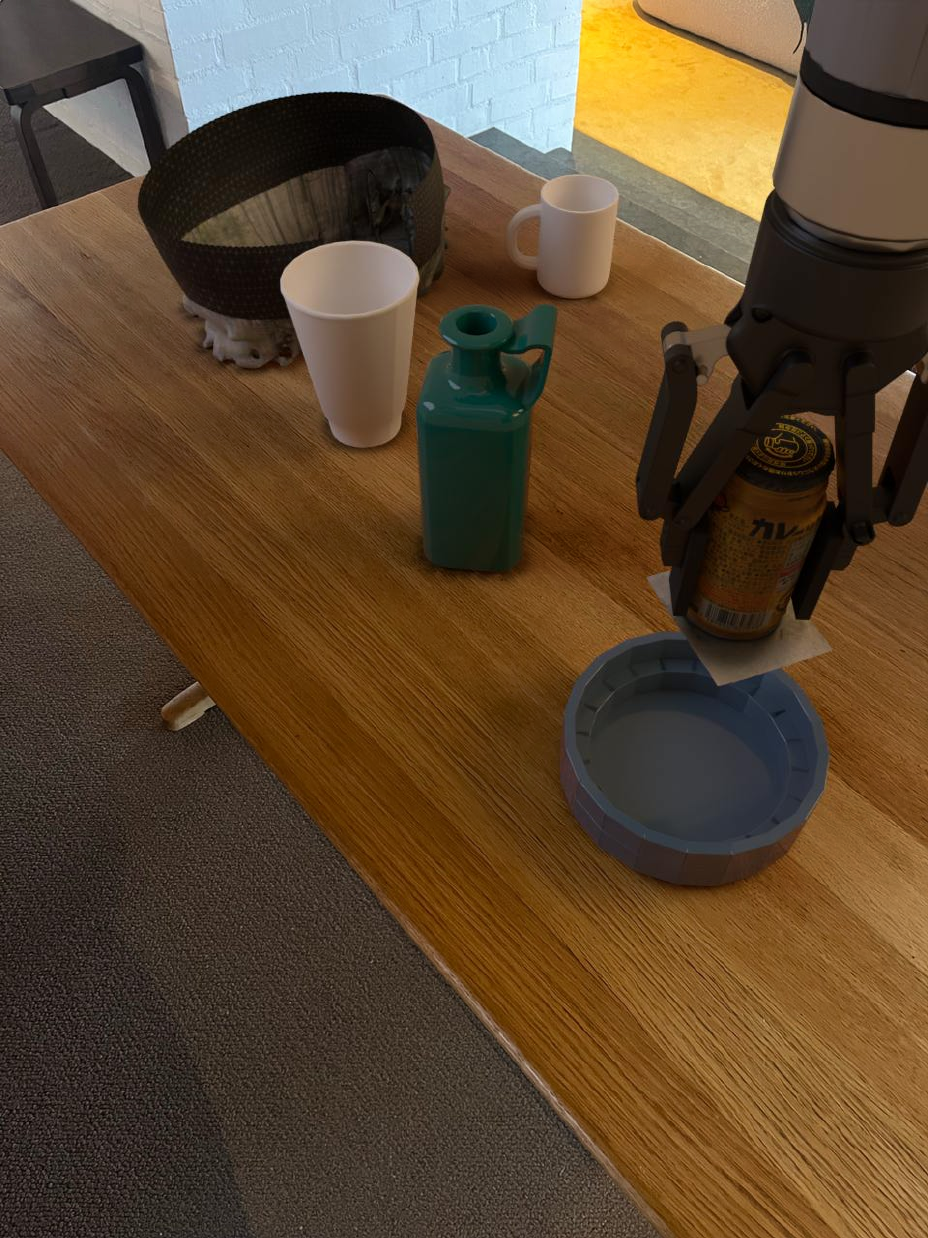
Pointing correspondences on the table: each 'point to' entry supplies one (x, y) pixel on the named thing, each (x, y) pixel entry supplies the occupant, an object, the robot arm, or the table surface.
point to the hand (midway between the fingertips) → (737, 599)
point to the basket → (289, 207)
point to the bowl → (689, 762)
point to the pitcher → (480, 435)
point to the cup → (355, 333)
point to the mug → (570, 235)
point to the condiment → (758, 557)
